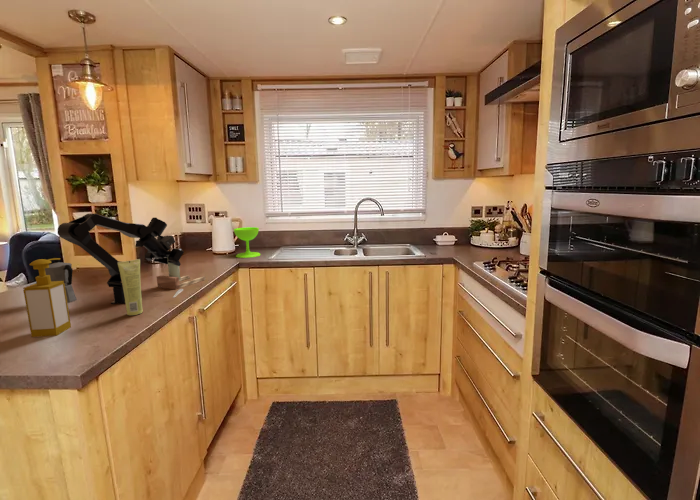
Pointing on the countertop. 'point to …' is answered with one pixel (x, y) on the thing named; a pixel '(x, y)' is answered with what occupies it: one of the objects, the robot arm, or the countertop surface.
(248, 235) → the wineglass
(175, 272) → the keeper post
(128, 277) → the tube
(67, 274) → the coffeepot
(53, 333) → the soap bottle
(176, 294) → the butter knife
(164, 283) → the brown piece
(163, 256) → the robot arm
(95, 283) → the countertop surface
